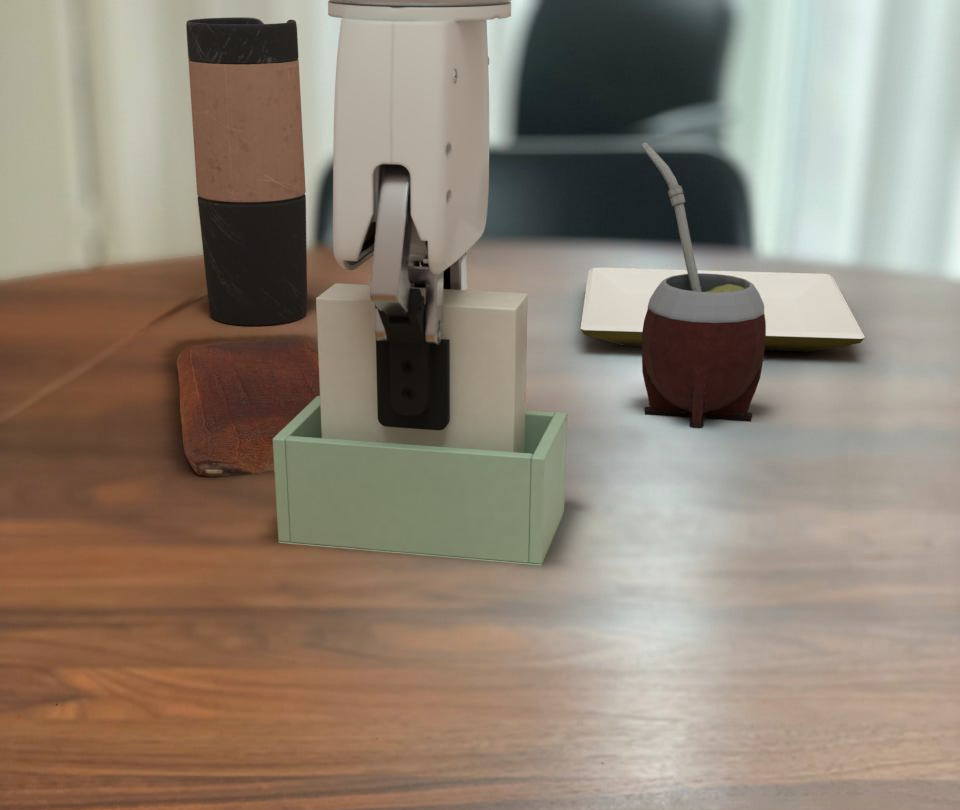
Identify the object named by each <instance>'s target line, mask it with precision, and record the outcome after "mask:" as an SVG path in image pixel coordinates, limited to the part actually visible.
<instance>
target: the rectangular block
mask: <svg viewBox="0 0 960 810" xmlns="http://www.w3.org/2000/svg"><path fill="white" fill-rule="evenodd" d="M411 288H415V287H411ZM416 289H420V291H421V294H422V296H424V298H425V288H416ZM424 303H425V302H424ZM528 304H529V295H528V293H526V292H525V293H524V292H523V293H522V292H508V291H507V292H506V291H505V292H504V291H488V290H487V291H486V290H468V289H467V290H452V289H443V327H442V338H441V339H447V340H450V421H449V423H448V425H447V426H446V427H445V428H444V429H443V430H426V429H412V428H398V427H386V426H383V425H381V424H380V423H379V421H378V410H377V368H376V336H375V304H374V303H373V302H372V301H371V298H370V284H357V283H355V284H354V283H342V282H341V283H340V282H339V283H338V282H336V283H334V284H333V285H331V286H330V287H328V288H327V289H326V290H325V291H323V292H322V293H321V294H319V295H318V296H317V297H316V298H315V307H316V332H317V352H318V359H319V383H320V408H321V432H322V438H325V439H338V440H352V441H366V442H379V443H393V444H407V445H420V446H434V447H448V448H462V449H475V450H489V451H503V452H516V453H525V410H526V407H527V405H526V404H527V353H528V348H527V347H528V313H529V312H528V311H529V310H528V308H529V307H528V306H529V305H528Z"/></svg>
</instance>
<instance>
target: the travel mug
mask: <svg viewBox="0 0 960 810" xmlns="http://www.w3.org/2000/svg"><path fill="white" fill-rule="evenodd" d="M185 25H186V26H185V28H186V29H185V30H186V42H187V43H186V44H187V58H188V73H189V74H188V75H189V76H188V77H189V90H190V104H191V119H192V120H191V121H192V136H193V137H192V138H193V150H194V151H193V152H194V165H195V166H194V167H195V183H196V184H195V185H196V195H197V206H198V207H197V208H198V215H199V216H198V217H199V224H200V225H199V227H200V234H201V235H200V236H201V244H202V254H203V265H204V274H205V282H206V283H205V284H206V292H207V300H208V309H209V315H210V317H211V319H213V320H214V321H217V322H219V323H222V324H228V325H232V326H233V325H234V326H245V327H246V326H248V327H249V326H250V327H256V326H257V327H259V326H272V325H273V326H275V325H282V324H287V323H291V322H295V321H298V320H301V319H302V318H304V317H306V315H307V312H308V261H307V260H308V258H307V257H308V256H307V255H308V254H307V250H308V249H307V248H308V247H307V196H306V192H307V191H306V189H307V187H306V172H305V153H304V135H303V115H302V98H301V97H302V96H301V78H300V77H301V76H300V59H299V41H298V40H299V39H298V24H297V21H296V20H295V19H288V20H287V21H286V22H278V23H277V22H276V23H264V22H263V21H262V20H261V19H259V18H255V17H248V16H247V17H245V16H244V17H235V16H233V17H208V18H207V17H206V18H195V19H188V20H186V24H185Z"/></svg>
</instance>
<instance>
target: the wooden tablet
mask: <svg viewBox="0 0 960 810" xmlns="http://www.w3.org/2000/svg"><path fill="white" fill-rule="evenodd" d="M176 369H177V375H178V384H179V407H180V408H179V413H180V423H181V431H182V433H181V434H182V445H183V451H184V456H185V458H186V460H187V461H188V464H189V465H190V467H191V468H192V470H193V472H194V473H195V474H197V475H198V476H199V477H204V478H215V477H233V476H234V477H235V476H245V475H246V476H247V475H254V474H261V473H266V472H274V455H273V438H274V437H275V436H276V435H277V434H278V433H279V432H280V431H281V430H282V429H283V428H285V427H286V426H287V425H288V424H289V423H290V422H291V421H292V420H293V419H294V418H295V417H296V416H297V415H298V414H299V413H300V412H301V411H302V410H303V409H304V408H305V407H306V406H307V405H308V404H309V403H310V402H311V401H313V400H314V399H315V398H316V397H317V396H320V383H319V359H318V350H316V349H315V348H314V347H313V345H312V344H311V343H309V342H308V341H307V340H305V339H303V338H300V337H295V336H294V337H279V338H278V337H277V338H268V339H263V340H262V339H261V340H245V341H238V342H232V343H231V342H227V343H212V344H205V345H198V346H191V347H188V348H185V349H183V350H182V351H181V352H180V353H179V354H178V356H177V359H176Z"/></svg>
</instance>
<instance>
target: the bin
mask: <svg viewBox="0 0 960 810" xmlns="http://www.w3.org/2000/svg"><path fill="white" fill-rule="evenodd" d="M567 436H568V413H567V412H559V411H557V412H554V411H547V410H546V411H544V410H530V409H525V453H516V452H503V451H489V450H475V449H462V448H448V447H434V446H420V445H407V444H393V443H379V442H366V441H352V440H338V439H325V438H322V432H321V408H320V396H317V397H316V398H315V399H314V400H313V401H311V402H310V403H309V404H308V405H307V406H306V407H305V408H304V409H303V410H302V411H301V412H300V413H299V414H298V415H297V416H296V417H295V418H294V419H293V420H292V421H291V422H290V423H289V424H288V425H287V426H286V427H285V428H283V429H282V430H281V431H280V432H279V433H278V434H277V435H276V436H275V437H274V438H273V455H274V471H273V472H274V487H275V488H274V489H275V506H276V507H275V508H276V521H277V522H276V523H277V539H278V543H279V544H286V545H287V544H289V545H299V546H300V545H301V546H312V547H323V548H334V549H347V550H355V551H356V550H357V551H358V550H359V551H369V552H379V553H380V552H381V553H393V554H403V555H416V556H427V557H439V558H449V559H461V560H462V559H463V560H473V561H485V562H497V563H508V564H519V565H520V564H521V565H531V566H542V565H543V563H544V561H545V559H546V556H547V553H548V552H549V549H550V547H551V544H552V542H553V539H554V537H555V535H556V532H557V530H558V528H559V525H560V524H561V521H562V518H563V516H564V514H565V500H566V499H565V498H566V471H567V469H566V466H567V441H568V439H567Z"/></svg>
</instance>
